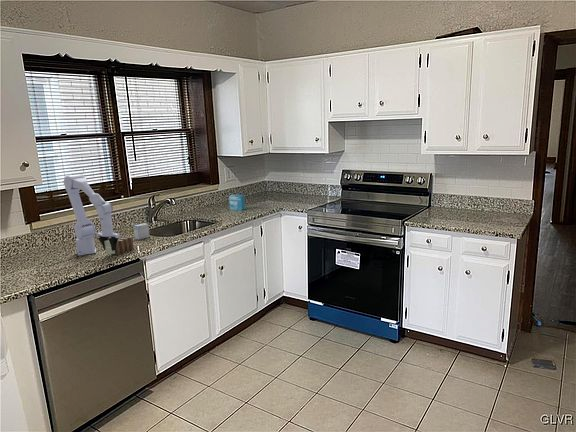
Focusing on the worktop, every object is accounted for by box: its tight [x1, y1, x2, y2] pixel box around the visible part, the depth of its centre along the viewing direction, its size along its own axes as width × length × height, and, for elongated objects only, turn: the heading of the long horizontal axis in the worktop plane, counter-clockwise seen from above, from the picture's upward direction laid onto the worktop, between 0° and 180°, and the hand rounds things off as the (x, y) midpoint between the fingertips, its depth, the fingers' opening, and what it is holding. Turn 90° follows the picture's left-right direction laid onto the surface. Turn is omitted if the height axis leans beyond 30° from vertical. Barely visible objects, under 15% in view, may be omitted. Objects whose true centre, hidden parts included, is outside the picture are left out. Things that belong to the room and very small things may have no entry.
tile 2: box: [118, 237, 130, 252], centre depth 247 cm, size 2×5×7 cm, turn 67°
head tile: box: [123, 235, 135, 250], centre depth 250 cm, size 2×5×7 cm, turn 67°
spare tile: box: [104, 240, 115, 255], centre depth 237 cm, size 2×5×7 cm, turn 67°
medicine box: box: [133, 222, 150, 240], centre depth 273 cm, size 8×4×9 cm, turn 141°
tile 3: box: [117, 239, 126, 254], centre depth 244 cm, size 2×5×7 cm, turn 67°
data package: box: [228, 194, 246, 211], centre depth 352 cm, size 12×4×12 cm, turn 63°
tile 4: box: [113, 242, 121, 256], centre depth 241 cm, size 2×5×7 cm, turn 67°
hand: (110, 249), depth 237 cm, fingers closed on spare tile, 5 cm apart
